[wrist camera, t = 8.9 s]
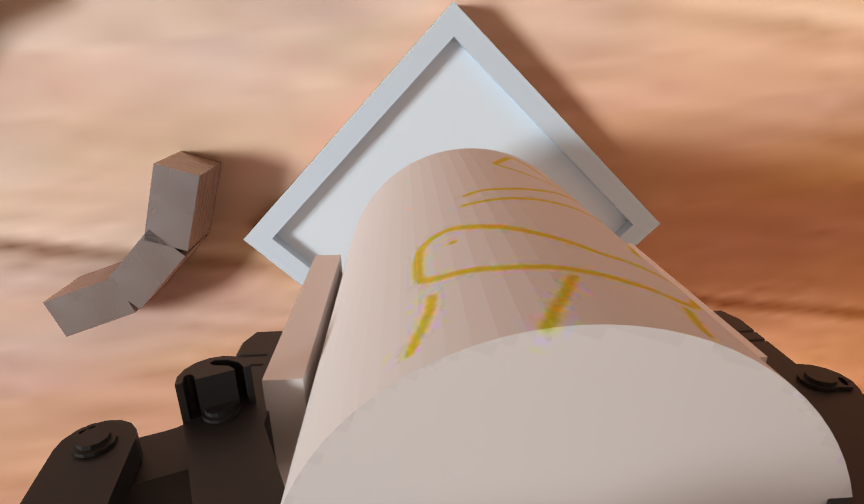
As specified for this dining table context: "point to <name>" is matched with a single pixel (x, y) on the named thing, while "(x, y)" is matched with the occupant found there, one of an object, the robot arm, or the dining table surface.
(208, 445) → the robot arm
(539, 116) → the tray
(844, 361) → the dining table surface
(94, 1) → the dining table surface
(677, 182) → the dining table surface
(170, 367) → the dining table surface
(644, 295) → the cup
